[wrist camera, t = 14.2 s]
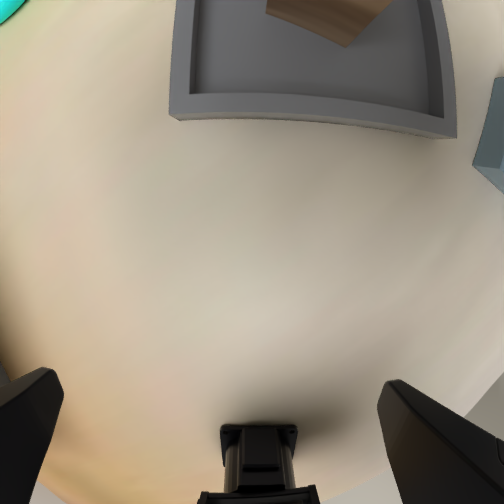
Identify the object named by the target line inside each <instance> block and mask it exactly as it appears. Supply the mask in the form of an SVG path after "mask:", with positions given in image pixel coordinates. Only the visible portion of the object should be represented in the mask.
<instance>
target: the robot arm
mask: <svg viewBox="0 0 504 504" xmlns="http://www.w3.org/2000/svg"><path fill="white" fill-rule="evenodd" d="M63 398H64V391H63V388H62V386H61V384H60V381H59V379H58V376H57V374H56V372H55V371H54V370H53V369H50V368H46V367H41V368H38V369H36V370H34V371H32V372H30V373H28V374H26V375H24V376H22V377H20V378H18V379H16V380H14V381H12V382H10V383H8V384H6V385H4V386H1V387H0V504H29V502H30V499H31V496H32V492H33V489H34V486H35V483H36V480H37V477H38V474H39V472H40V469H41V466H42V463H43V460H44V458H45V455H46V452H47V450H48V447H49V445H50V442H51V439H52V436H53V432H54V429H55V425H56V422H57V418H58V415H59V412H60V408H61V405H62V402H63ZM377 410H378V415H379V419H380V424H381V428H382V433H383V437H384V442H385V447H386V451H387V456H388V459H389V462H390V465H391V468H392V471H393V474H394V477H395V480H396V483H397V486H398V490H399V493H400V496H401V499H402V502H403V504H504V441H502V440H501V439H499V438H496V437H495V436H493V435H492V434H490V433H488V432H487V431H485V430H483V429H482V428H480V427H478V426H476V425H475V424H473V423H471V422H470V421H468V420H466V419H465V418H463V417H461V416H460V415H458V414H456V413H455V412H453V411H451V410H450V409H448V408H446V407H445V406H443V405H441V404H440V403H438V402H437V401H435V400H433V399H432V398H430V397H428V396H427V395H425V394H423V393H422V392H420V391H419V390H417V389H415V388H414V387H412V386H411V385H409V384H407V383H406V382H404V381H402V380H400V379H396V380H390V381H387V382H385V384H384V386H383V389H382V392H381V395H380V398H379V400H378V404H377ZM297 433H298V429H297V426H295V425H282V426H222V427H221V428H220V439H221V449H222V459H223V466H224V467H225V480H224V493H209V492H204V491H202V492H201V495H200V499H198V502H197V504H320V501H319V497H318V493H317V490H316V486H315V484H314V485H308V487H300V488H296V486H295V479H294V471H293V464H292V459H293V454H294V449H295V444H296V439H297Z"/></svg>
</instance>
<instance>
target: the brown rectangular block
mask: <svg viewBox="0 0 504 504" xmlns="http://www.w3.org/2000/svg"><path fill="white" fill-rule="evenodd" d="M392 1H393V0H267V5H266V12H265V14H268V15H271V16H274V17H276V18H279V19H282V20H284V21H287V22H289V23H292V24H294V25H297V26H299V27H302V28H304V29H306V30H309V31H311V32H313V33H315V34H318V35H320V36H322V37H324V38H326V39H328V40H330V41H332V42H335V43H337V44H339V45H341V46H343V47H344V48H346V47H347V46H348V45H349V44H350V43H351V42H352V41H353V40H354V39H355V38H356V37H357V36H358V35H359V34H360V33H361V32H362V30H363V29H364V28H365V27H366V26H367V25H368V24H369V23H370V22H371V21H372V20H373V19H374V18H375V17H376V16H377V15H378V14H380V13H381V12H382V11H383V10H384V9H385V8H386V7H387V6H388V5H389V4H390V3H391V2H392Z"/></svg>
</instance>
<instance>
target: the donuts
mask: <svg viewBox="0 0 504 504" xmlns="http://www.w3.org/2000/svg"><path fill="white" fill-rule="evenodd" d="M24 1H25V0H0V23H2V22H3V21H5V20H6V19H7V18H8V17H9V16H11V15H12V14H13V13H14V12H15V11H16V10H17V9H18V8H19V7H20V6H21V5H22V3H23V2H24Z"/></svg>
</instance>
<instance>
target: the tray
mask: <svg viewBox="0 0 504 504" xmlns="http://www.w3.org/2000/svg"><path fill="white" fill-rule="evenodd" d="M266 5H267V0H177V1H176V10H175V20H174V30H173V42H172V55H171V71H170V91H169V115H170V116H172V117H174V118H176V119H177V120H179V121H181V120H202V119H274V120H295V121H310V122H323V123H334V124H343V125H352V126H360V127H368V128H375V129H382V130H389V131H395V132H401V133H406V134H412V135H417V136H422V137H427V138H432V139H452V138H457V115H456V94H455V81H454V71H453V62H452V54H451V47H450V41H449V35H448V29H447V24H446V18H445V14H444V9H443V5H442V0H393V1H392V2H391V3H390V4H389V5H388V6H387V7H386V8H385V9H384V10H383V11H382V12H381V13H380V14H378V15H377V16H376V17H375V18H374V19H373V20H372V21H371V22H370V23H369V24H368V25H367V26H366V27H365V28H364V29H363V30H362V32H361V33H360V34H359V35H358V36H357V37H356V38H355V39H354V40H353V41H352V42H351V43H350V44H349V45H348V46H347V47H346V48H344V47H343V46H341V45H339V44H337V43H335V42H332V41H330V40H328V39H326V38H324V37H322V36H320V35H318V34H315V33H313V32H311V31H309V30H306V29H304V28H302V27H299V26H297V25H294V24H292V23H289V22H287V21H284V20H282V19H279V18H276V17H274V16H271V15H268V14H265V12H266Z"/></svg>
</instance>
